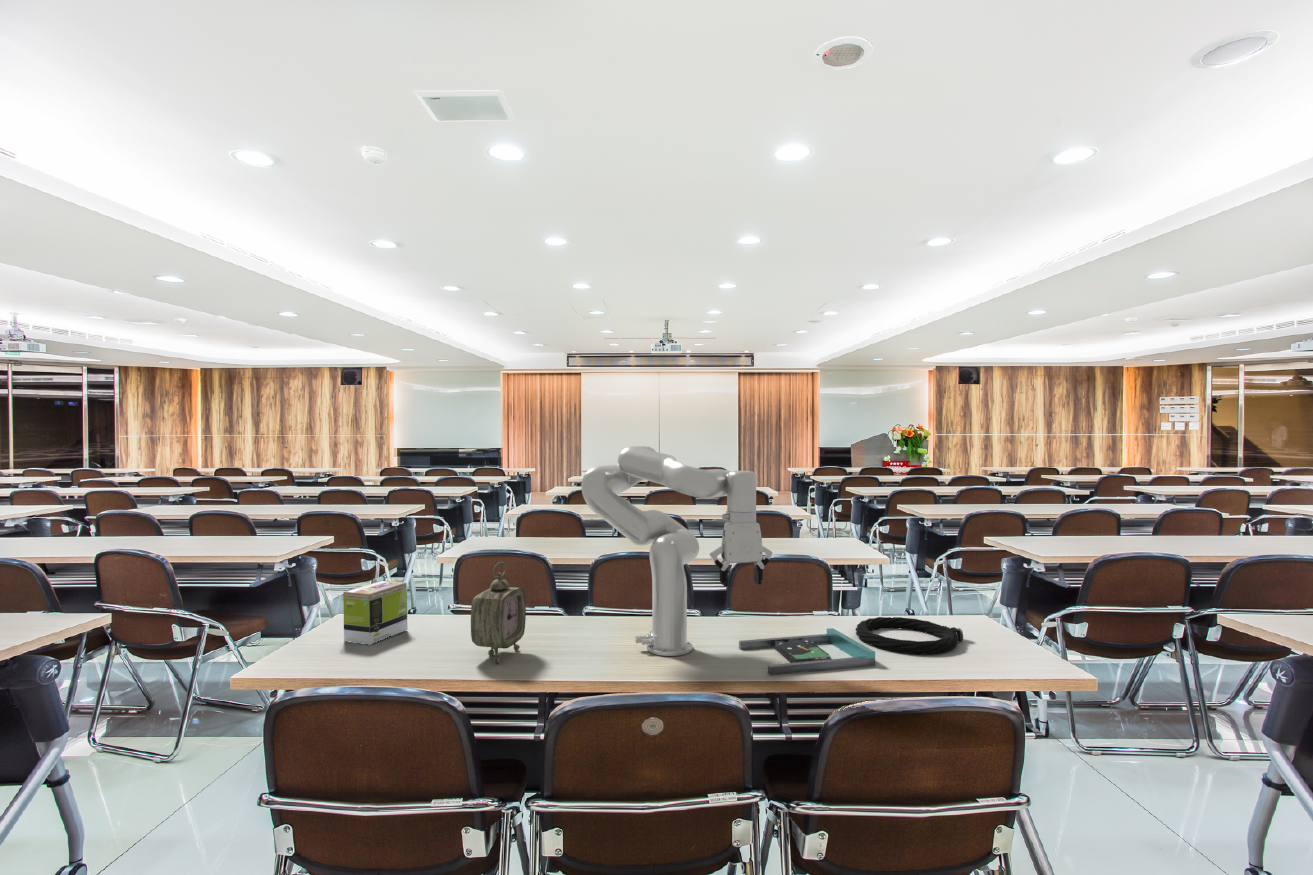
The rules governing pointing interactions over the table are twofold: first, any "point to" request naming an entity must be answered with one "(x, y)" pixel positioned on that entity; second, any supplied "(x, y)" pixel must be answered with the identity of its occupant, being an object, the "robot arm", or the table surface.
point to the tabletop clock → (498, 616)
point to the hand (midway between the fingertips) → (741, 584)
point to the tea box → (375, 612)
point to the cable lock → (907, 646)
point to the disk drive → (800, 651)
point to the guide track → (856, 650)
